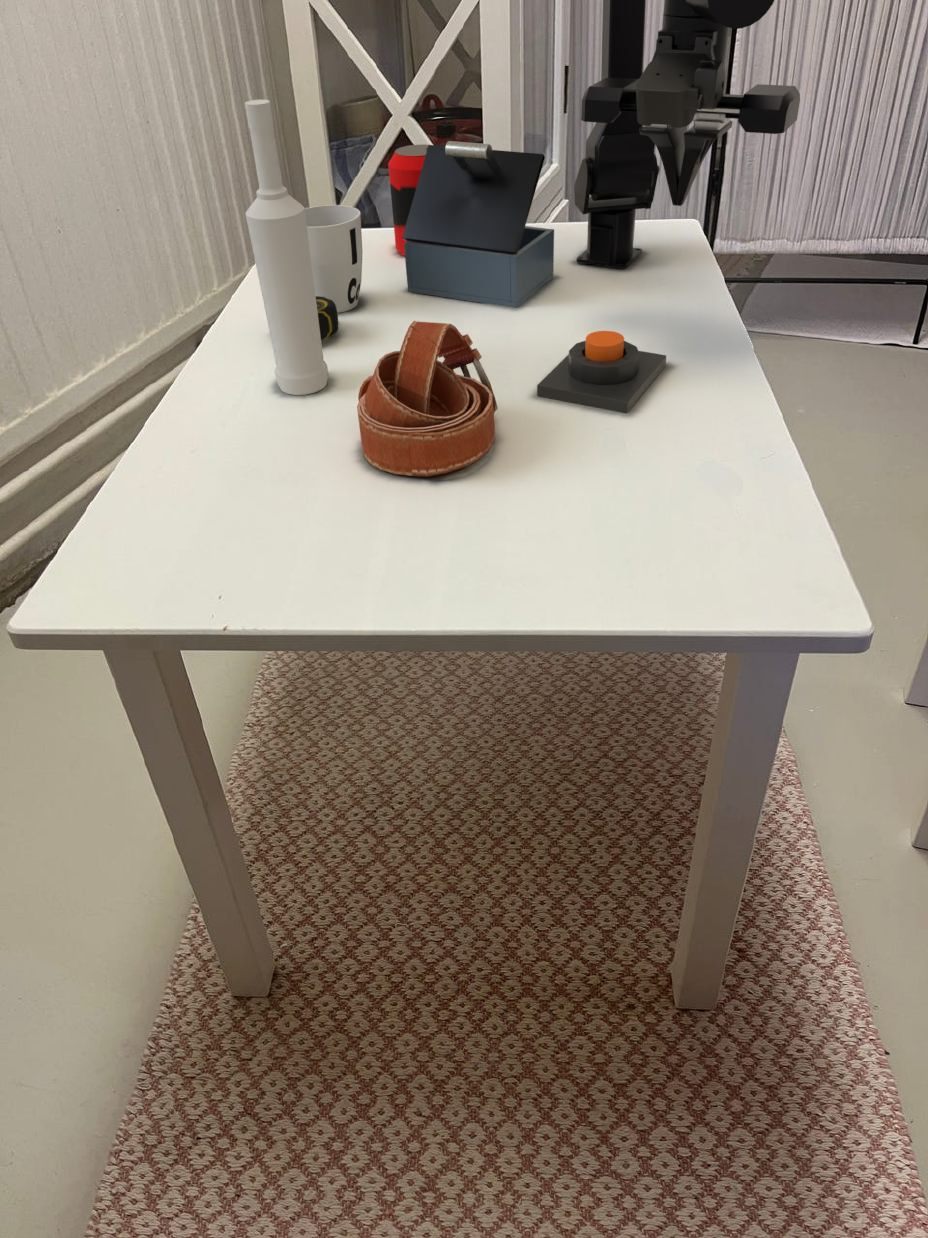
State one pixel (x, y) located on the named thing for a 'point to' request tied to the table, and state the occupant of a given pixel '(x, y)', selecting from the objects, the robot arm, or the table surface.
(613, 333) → the button
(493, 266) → the storage case
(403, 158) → the soda can
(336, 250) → the cup
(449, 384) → the belt
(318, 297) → the tape measure
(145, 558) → the table surface
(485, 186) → the box lid
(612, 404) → the block
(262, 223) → the bottle
